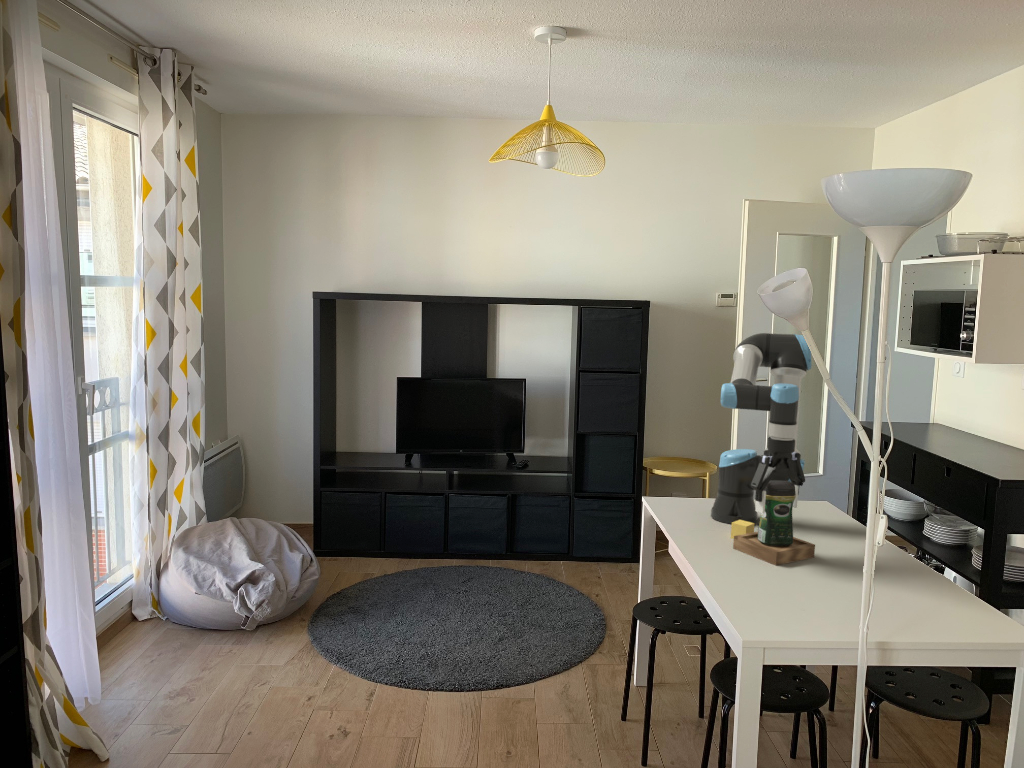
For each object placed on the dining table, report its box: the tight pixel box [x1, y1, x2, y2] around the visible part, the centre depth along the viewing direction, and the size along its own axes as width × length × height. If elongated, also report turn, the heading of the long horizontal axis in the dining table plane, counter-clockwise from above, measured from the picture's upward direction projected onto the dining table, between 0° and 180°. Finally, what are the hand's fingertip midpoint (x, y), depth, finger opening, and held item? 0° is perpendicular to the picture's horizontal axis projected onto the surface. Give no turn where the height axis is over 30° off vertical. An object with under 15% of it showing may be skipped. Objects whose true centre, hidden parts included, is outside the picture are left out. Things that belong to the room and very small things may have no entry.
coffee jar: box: [757, 480, 796, 546], centre depth 230 cm, size 10×8×19 cm
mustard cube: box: [730, 520, 756, 540], centre depth 244 cm, size 5×5×5 cm
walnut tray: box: [732, 531, 816, 566], centre depth 231 cm, size 16×16×4 cm
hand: (776, 509), depth 230 cm, fingers open, 13 cm apart
